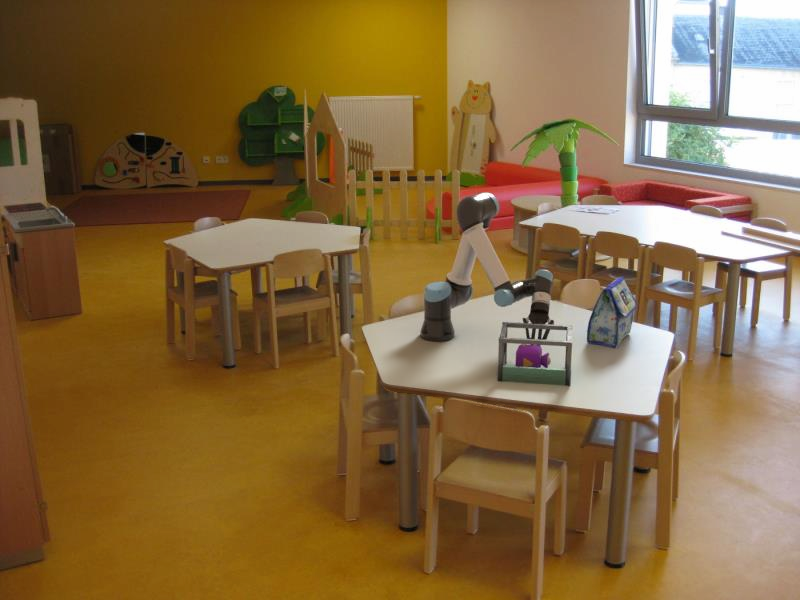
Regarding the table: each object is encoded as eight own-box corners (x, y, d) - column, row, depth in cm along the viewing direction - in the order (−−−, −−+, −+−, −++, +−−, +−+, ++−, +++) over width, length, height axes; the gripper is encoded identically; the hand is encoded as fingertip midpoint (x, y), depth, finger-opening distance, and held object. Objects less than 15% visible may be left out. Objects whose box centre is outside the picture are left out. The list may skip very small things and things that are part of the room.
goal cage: (497, 381, 327) (498, 338, 322) (501, 362, 346) (502, 321, 341) (570, 386, 322) (572, 342, 317) (570, 366, 341) (572, 325, 336)
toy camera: (551, 376, 332) (552, 352, 329) (515, 375, 333) (516, 351, 330) (548, 365, 342) (549, 342, 339) (514, 365, 343) (515, 341, 340)
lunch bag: (622, 350, 359) (627, 290, 351) (584, 343, 367) (587, 285, 359) (636, 334, 377) (640, 277, 370) (599, 329, 385) (602, 273, 378)
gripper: (523, 299, 349) (516, 351, 339) (556, 301, 346) (549, 354, 335) (525, 308, 356) (518, 359, 345) (556, 310, 352) (550, 362, 342)
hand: (533, 357), depth 340 cm, fingers closed
